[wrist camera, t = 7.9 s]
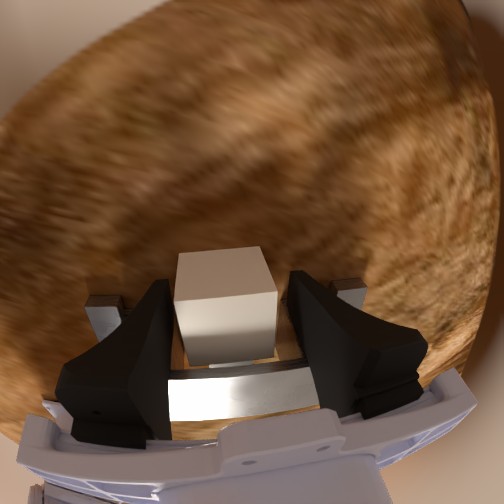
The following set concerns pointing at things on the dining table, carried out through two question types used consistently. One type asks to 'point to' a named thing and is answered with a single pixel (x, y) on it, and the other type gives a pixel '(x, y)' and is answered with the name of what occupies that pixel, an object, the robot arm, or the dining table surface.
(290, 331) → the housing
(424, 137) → the dining table surface
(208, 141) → the dining table surface
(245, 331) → the plug
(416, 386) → the robot arm
